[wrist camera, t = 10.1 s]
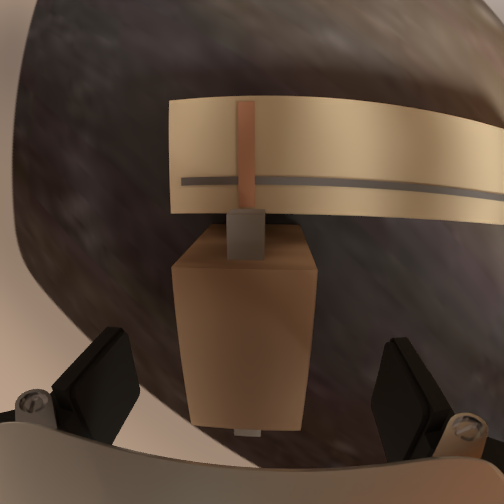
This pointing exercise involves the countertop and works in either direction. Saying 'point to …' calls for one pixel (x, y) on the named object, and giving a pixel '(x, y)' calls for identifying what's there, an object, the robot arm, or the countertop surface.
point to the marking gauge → (246, 323)
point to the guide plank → (333, 159)
